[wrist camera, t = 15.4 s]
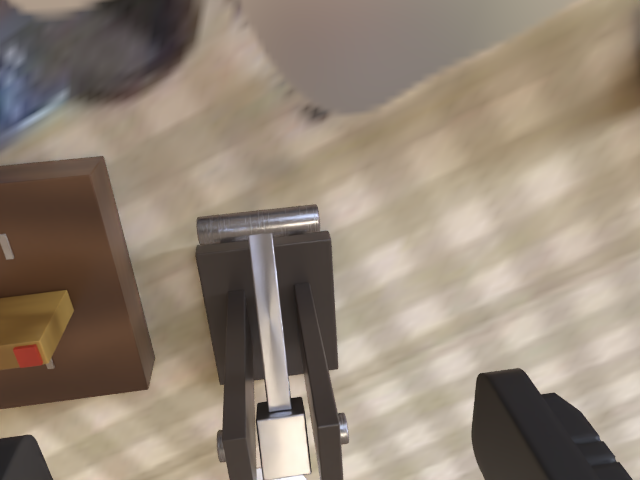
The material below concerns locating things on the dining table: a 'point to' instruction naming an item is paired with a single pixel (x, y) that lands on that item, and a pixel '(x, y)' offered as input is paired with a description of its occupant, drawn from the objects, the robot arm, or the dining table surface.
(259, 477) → the champagne flute
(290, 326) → the handle bracket
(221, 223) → the door handle
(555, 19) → the dining table surface
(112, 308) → the plate
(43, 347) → the bar
